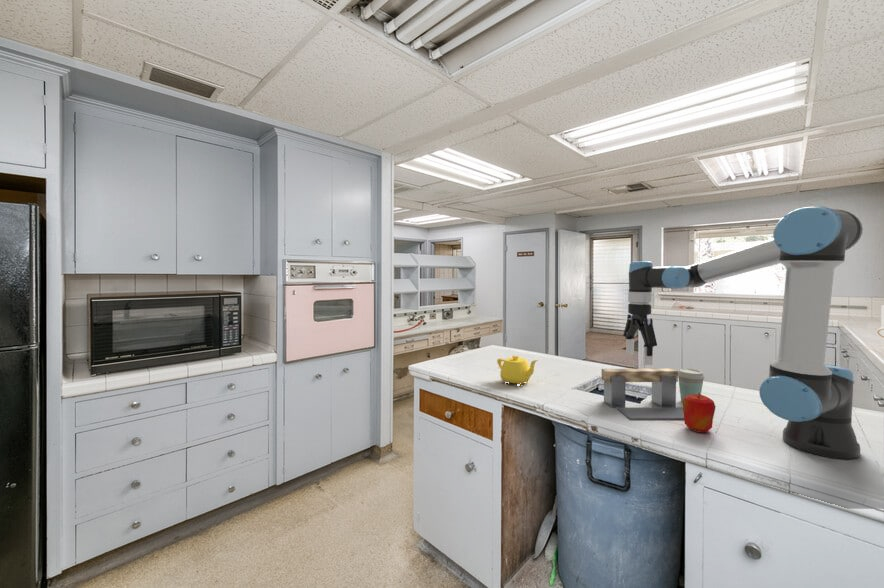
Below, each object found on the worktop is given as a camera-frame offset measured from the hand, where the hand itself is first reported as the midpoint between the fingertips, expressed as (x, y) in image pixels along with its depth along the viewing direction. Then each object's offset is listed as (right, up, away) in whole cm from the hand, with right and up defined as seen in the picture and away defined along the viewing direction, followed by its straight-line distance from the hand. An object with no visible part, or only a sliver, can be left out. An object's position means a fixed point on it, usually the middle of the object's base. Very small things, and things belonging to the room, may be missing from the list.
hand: (638, 360), depth 138 cm
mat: (+2, -17, -10) cm, 20 cm away
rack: (0, -17, +1) cm, 17 cm away
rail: (0, -8, 0) cm, 8 cm away
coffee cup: (+20, -17, +2) cm, 26 cm away
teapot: (-39, -16, +30) cm, 52 cm away
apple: (+7, -18, -22) cm, 29 cm away
